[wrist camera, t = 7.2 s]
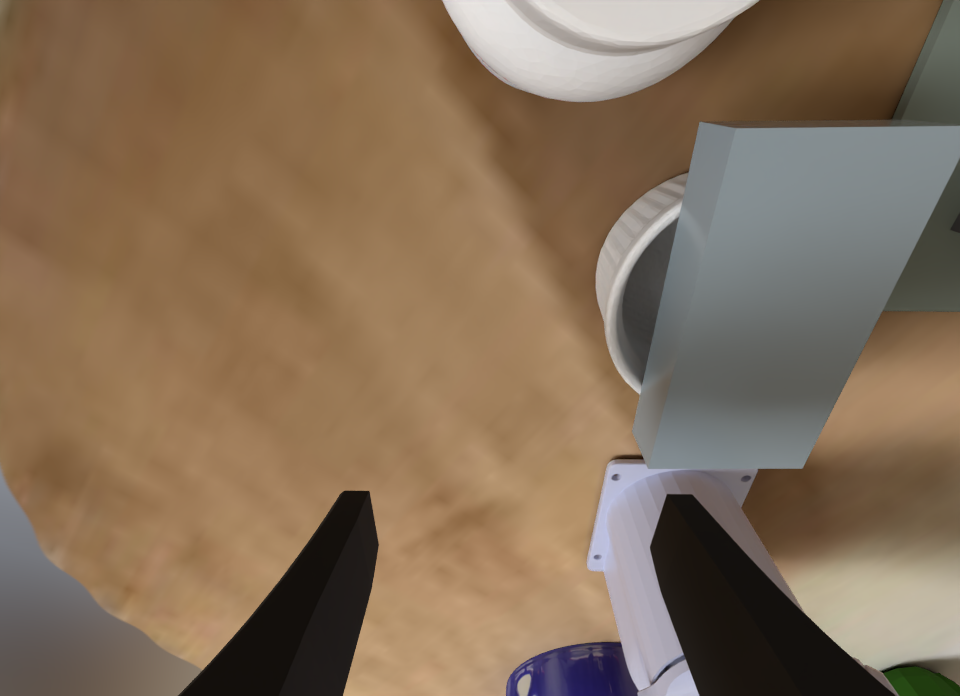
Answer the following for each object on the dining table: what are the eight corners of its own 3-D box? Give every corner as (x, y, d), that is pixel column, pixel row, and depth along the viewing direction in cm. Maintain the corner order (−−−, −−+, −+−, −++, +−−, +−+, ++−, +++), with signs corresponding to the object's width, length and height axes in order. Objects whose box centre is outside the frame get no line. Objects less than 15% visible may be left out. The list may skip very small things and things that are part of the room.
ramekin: (588, 159, 16) (618, 181, 13) (834, 142, 16) (938, 160, 12) (577, 360, 21) (597, 419, 17) (768, 350, 21) (830, 409, 17)
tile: (771, 430, 18) (802, 468, 16) (632, 431, 18) (648, 468, 16) (904, 119, 12) (976, 125, 10) (699, 121, 12) (736, 128, 10)
